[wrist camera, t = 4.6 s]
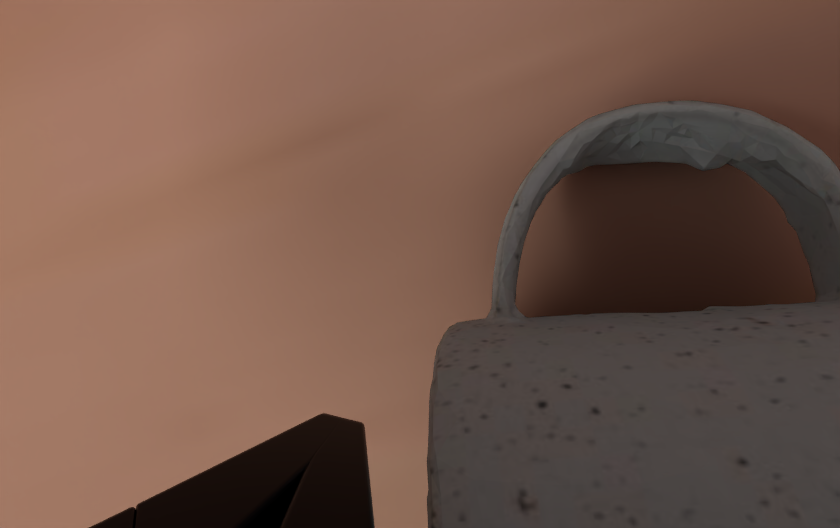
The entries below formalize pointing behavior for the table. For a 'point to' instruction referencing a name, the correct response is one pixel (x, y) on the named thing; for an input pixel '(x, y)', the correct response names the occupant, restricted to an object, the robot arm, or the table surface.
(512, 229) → the ceramic mug
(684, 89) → the table surface
